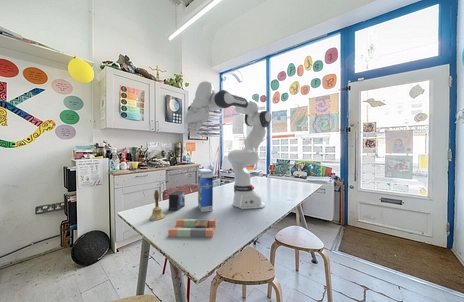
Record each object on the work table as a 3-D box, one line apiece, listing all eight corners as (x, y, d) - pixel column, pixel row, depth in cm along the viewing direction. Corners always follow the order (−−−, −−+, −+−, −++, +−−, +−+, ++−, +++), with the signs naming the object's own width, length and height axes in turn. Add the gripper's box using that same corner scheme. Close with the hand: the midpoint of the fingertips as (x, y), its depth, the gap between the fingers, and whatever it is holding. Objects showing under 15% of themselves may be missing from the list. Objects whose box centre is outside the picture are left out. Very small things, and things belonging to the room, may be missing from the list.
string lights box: (197, 205, 120) (197, 168, 119) (208, 204, 123) (208, 168, 122) (201, 212, 107) (201, 171, 107) (213, 210, 110) (213, 170, 110)
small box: (177, 211, 110) (177, 194, 110) (168, 210, 111) (168, 194, 111) (185, 205, 120) (185, 190, 120) (176, 205, 121) (176, 190, 121)
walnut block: (207, 228, 87) (207, 220, 87) (205, 234, 81) (205, 225, 81) (198, 228, 87) (198, 220, 87) (195, 233, 81) (195, 225, 81)
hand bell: (150, 221, 94) (150, 192, 94) (148, 217, 101) (147, 189, 100) (166, 218, 99) (166, 190, 99) (162, 213, 106) (162, 187, 105)
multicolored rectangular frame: (215, 225, 90) (215, 219, 90) (212, 237, 78) (212, 230, 78) (177, 224, 90) (177, 219, 90) (168, 236, 78) (168, 229, 78)
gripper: (214, 107, 93) (207, 131, 91) (195, 112, 108) (188, 133, 106) (204, 102, 89) (197, 126, 86) (186, 108, 104) (179, 129, 102)
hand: (192, 130), depth 96 cm, fingers open, 8 cm apart
